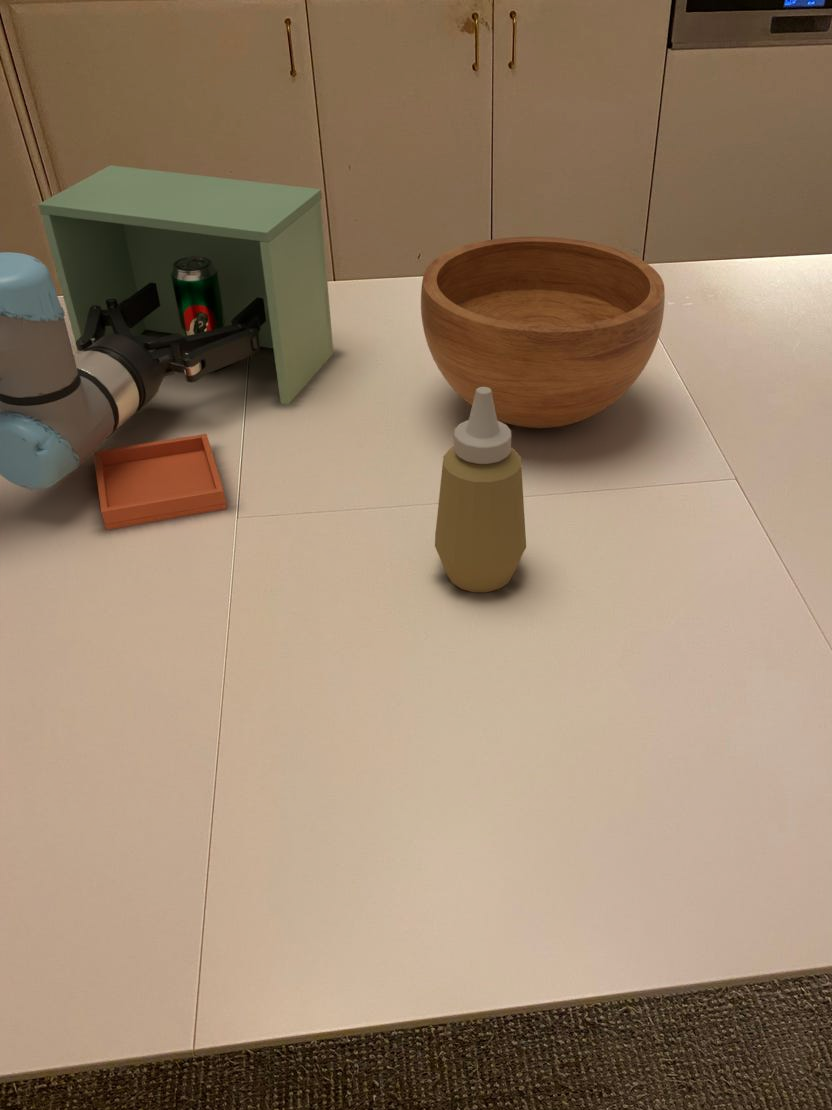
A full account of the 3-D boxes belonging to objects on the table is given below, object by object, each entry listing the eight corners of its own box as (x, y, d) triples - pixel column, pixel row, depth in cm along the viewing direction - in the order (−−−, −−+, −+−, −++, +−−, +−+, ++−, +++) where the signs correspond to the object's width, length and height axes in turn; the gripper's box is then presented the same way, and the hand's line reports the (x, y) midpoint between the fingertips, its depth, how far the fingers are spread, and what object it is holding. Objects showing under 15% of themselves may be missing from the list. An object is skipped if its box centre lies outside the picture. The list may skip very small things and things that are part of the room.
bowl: (566, 501, 97) (579, 358, 87) (376, 421, 108) (368, 286, 98) (688, 405, 112) (710, 273, 102) (510, 343, 123) (515, 219, 113)
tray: (98, 469, 100) (93, 451, 99) (209, 451, 103) (206, 433, 102) (106, 530, 92) (101, 511, 91) (226, 508, 95) (223, 490, 94)
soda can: (240, 364, 118) (224, 264, 110) (203, 377, 115) (184, 275, 107) (216, 350, 120) (199, 251, 112) (180, 363, 118) (160, 262, 110)
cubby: (288, 405, 111) (267, 232, 98) (83, 372, 115) (37, 204, 103) (335, 351, 121) (321, 188, 108) (144, 323, 126) (110, 165, 113)
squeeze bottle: (541, 567, 89) (555, 384, 77) (493, 614, 84) (499, 426, 72) (467, 537, 92) (469, 357, 80) (416, 580, 87) (410, 396, 75)
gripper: (11, 399, 104) (119, 318, 119) (227, 436, 99) (310, 346, 114) (-11, 331, 99) (104, 256, 114) (215, 366, 94) (304, 283, 109)
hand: (208, 301), depth 114 cm, fingers open, 13 cm apart
